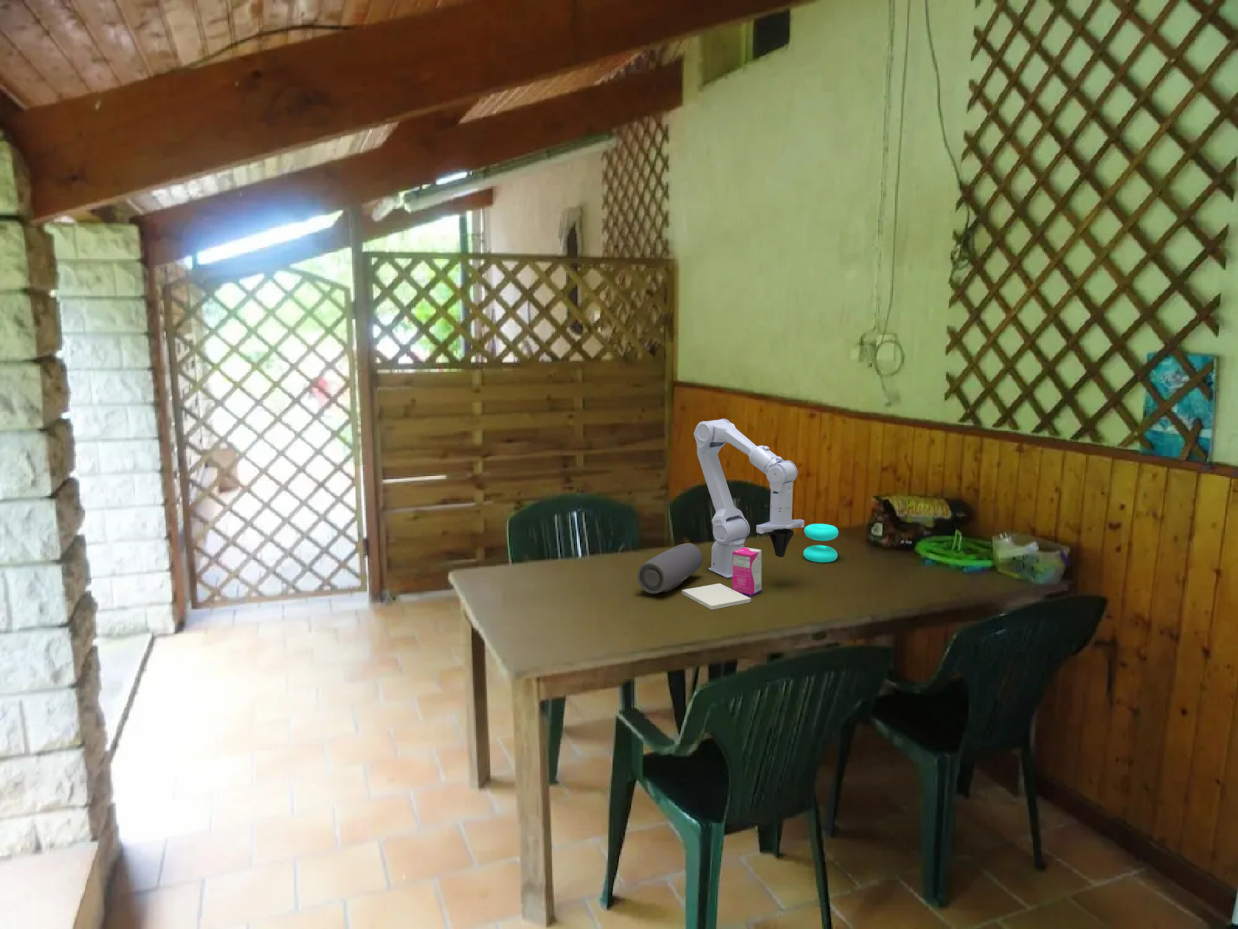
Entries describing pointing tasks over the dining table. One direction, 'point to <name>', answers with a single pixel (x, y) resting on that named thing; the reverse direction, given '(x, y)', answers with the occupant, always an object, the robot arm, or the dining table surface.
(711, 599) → the mat
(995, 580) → the dining table surface
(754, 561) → the supplement box
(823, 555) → the donuts
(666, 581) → the bluetooth speaker
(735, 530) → the robot arm
